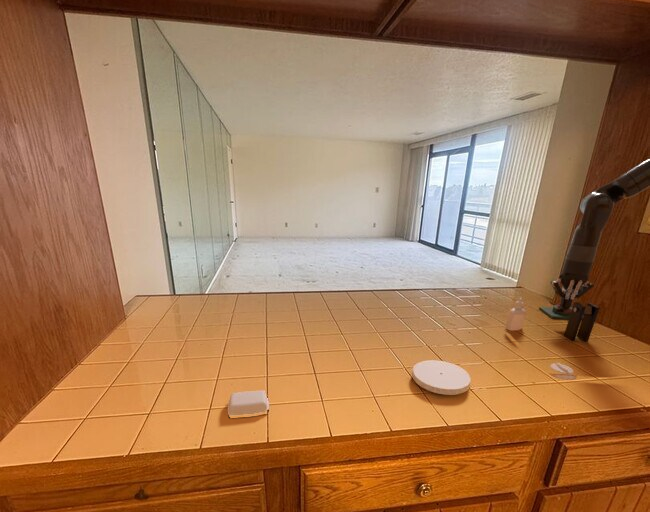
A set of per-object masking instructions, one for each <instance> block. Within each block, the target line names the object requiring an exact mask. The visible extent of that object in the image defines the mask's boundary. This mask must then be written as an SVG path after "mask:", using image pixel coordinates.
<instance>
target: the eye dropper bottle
mask: <svg viewBox="0 0 650 512" xmlns="http://www.w3.org/2000/svg"><path fill="white" fill-rule="evenodd" d="M524 305H525V302H523V298H522V297H519V299H518V300H516V301H515V302H514V307H512V308H511V309H509V311H508V314H507V318H506V321H505V322H506V323H505V325H504V332H506V333H508V334H510V332H509V331H520V330H522V329H523V324H524V322H525V317H526V313H527V311H526V309H524Z"/></svg>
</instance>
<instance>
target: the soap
mask: <svg viewBox="0 0 650 512" xmlns="http://www.w3.org/2000/svg"><path fill="white" fill-rule="evenodd" d="M266 395H267V393H266V390H264V389H260V390H248V391H246V390H245V391H239V392H232V393H231V394H230V396H229V399H230V400H229V399H228V402H229V403H228V402H227V416H228V415H243V414H254V413H259V412H265V411H267V410H268V409H269V410H270V400H269V401H268V399H269V397H268V398H267V396H268V395H267V396H266Z"/></svg>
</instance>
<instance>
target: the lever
mask: <svg viewBox="0 0 650 512" xmlns="http://www.w3.org/2000/svg"><path fill="white" fill-rule="evenodd" d="M584 306H585V307H586V308H585V311H584V314H591V313H592V306H587V305H584ZM571 311H572V309H555V313H571ZM584 314H583V315H584Z"/></svg>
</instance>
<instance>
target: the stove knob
mask: <svg viewBox="0 0 650 512" xmlns="http://www.w3.org/2000/svg"><path fill="white" fill-rule="evenodd" d="M549 367H550V368H551V370H553V371H555V372H557V373H549V375H550V376H552V377H554V378H557V379H559V380H566V381H573V380H576V379H577V376H578V375H577V374H573V373H574V370H573V368H571V367H570V366H568V365H565V364H562V363H560V362H556V363H552V364H550V366H549Z"/></svg>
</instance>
